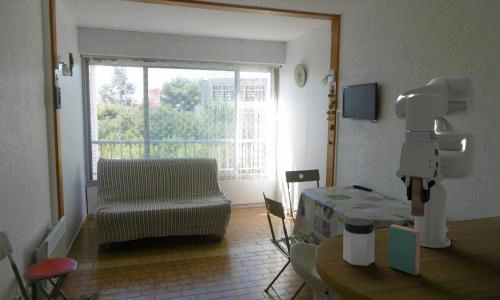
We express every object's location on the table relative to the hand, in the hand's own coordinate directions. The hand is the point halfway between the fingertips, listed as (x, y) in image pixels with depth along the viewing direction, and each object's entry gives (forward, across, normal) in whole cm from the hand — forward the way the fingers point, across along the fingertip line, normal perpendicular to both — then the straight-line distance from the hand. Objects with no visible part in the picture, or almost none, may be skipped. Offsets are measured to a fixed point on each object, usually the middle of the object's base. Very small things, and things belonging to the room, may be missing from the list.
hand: (417, 200), depth 104 cm
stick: (+4, 0, 0) cm, 4 cm away
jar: (+19, +12, +11) cm, 25 cm away
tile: (+19, 0, +7) cm, 20 cm away
